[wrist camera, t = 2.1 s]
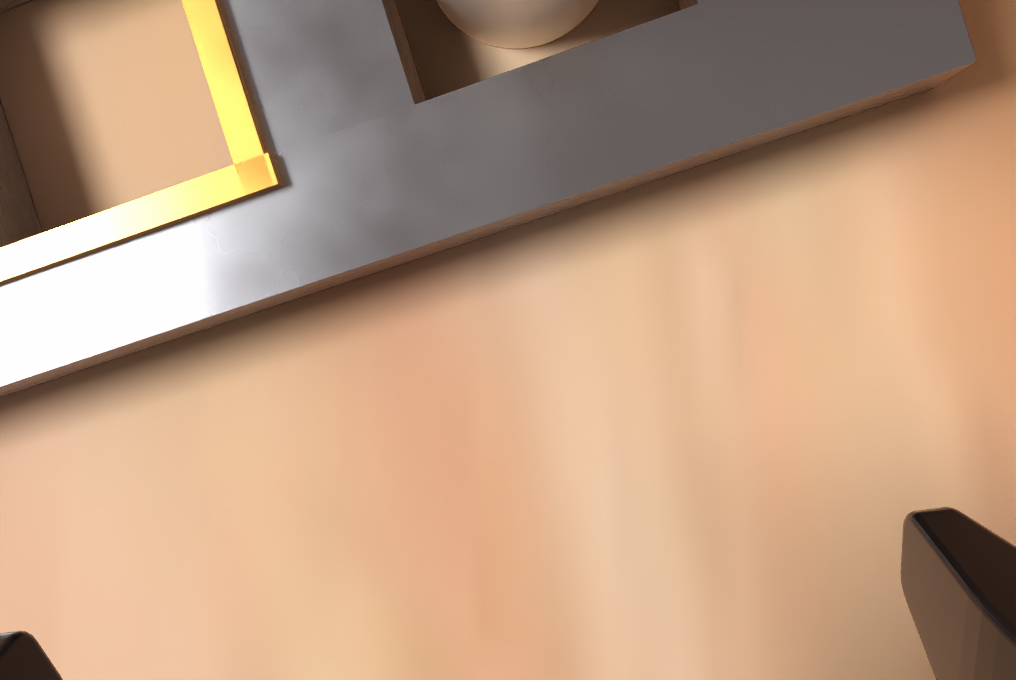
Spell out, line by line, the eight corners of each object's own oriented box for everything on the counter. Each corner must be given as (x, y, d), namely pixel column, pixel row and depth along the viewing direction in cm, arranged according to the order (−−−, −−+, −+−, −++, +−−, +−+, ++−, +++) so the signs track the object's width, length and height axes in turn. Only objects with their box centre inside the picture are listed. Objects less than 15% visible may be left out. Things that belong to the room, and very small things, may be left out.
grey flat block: (775, -438, 18) (799, -542, 16) (937, 86, 19) (983, 56, 16) (-221, -23, 22) (-318, -61, 19) (-76, 422, 22) (-156, 436, 20)
